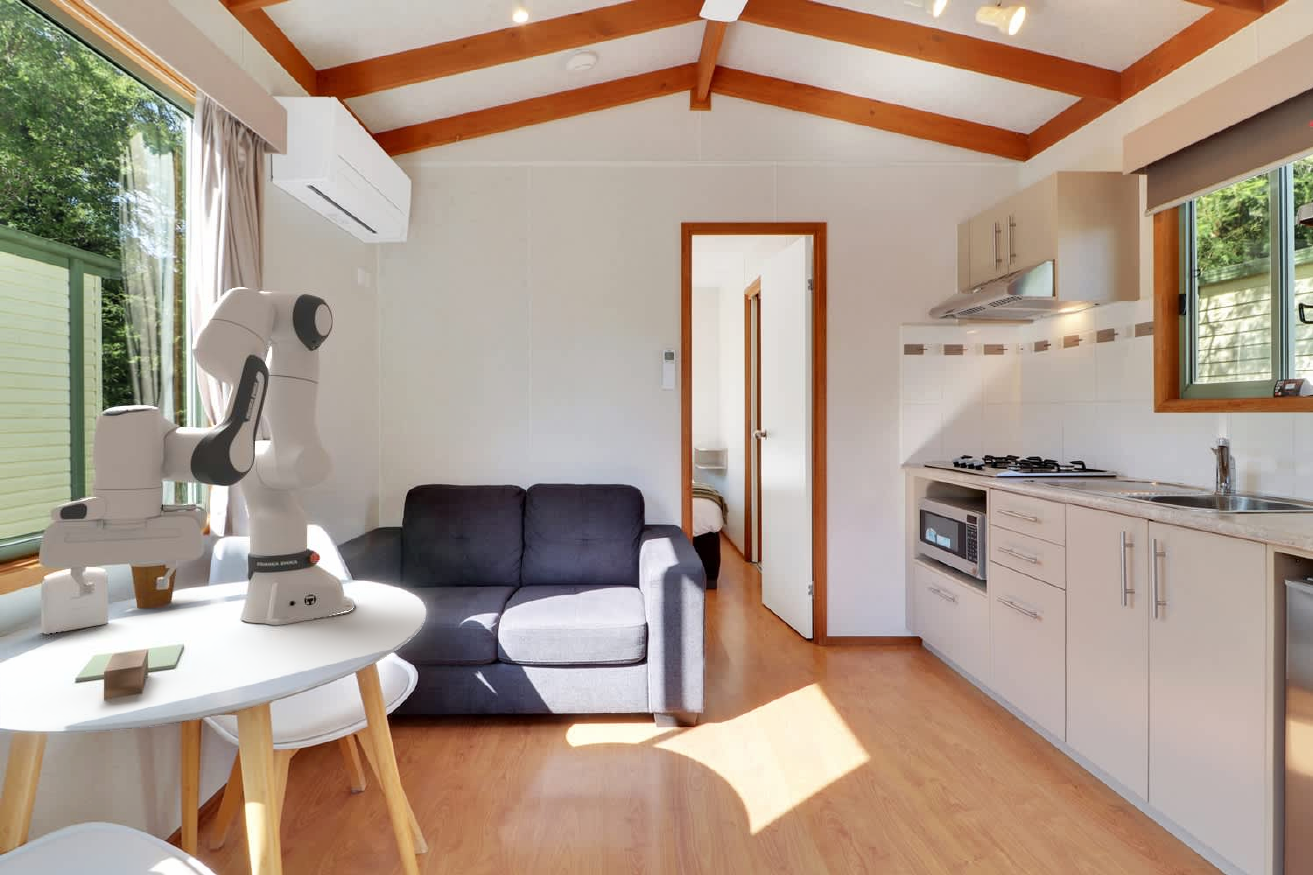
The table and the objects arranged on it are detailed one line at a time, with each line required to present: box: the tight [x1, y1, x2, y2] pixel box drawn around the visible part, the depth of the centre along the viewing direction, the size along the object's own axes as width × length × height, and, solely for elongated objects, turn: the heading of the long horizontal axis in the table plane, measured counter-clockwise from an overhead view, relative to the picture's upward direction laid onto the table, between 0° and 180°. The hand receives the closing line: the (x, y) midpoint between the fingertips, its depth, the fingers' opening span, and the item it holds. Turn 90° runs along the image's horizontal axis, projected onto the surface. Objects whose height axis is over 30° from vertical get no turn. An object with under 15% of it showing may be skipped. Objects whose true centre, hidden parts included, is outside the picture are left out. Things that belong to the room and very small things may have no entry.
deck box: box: [103, 648, 149, 700], centre depth 102 cm, size 4×9×4 cm, turn 34°
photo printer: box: [40, 566, 109, 635], centre depth 130 cm, size 10×4×12 cm, turn 140°
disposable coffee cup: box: [129, 562, 178, 609], centre depth 148 cm, size 10×10×12 cm
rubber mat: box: [75, 643, 185, 683], centre depth 112 cm, size 13×12×1 cm
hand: (125, 591), depth 102 cm, fingers open, 8 cm apart
